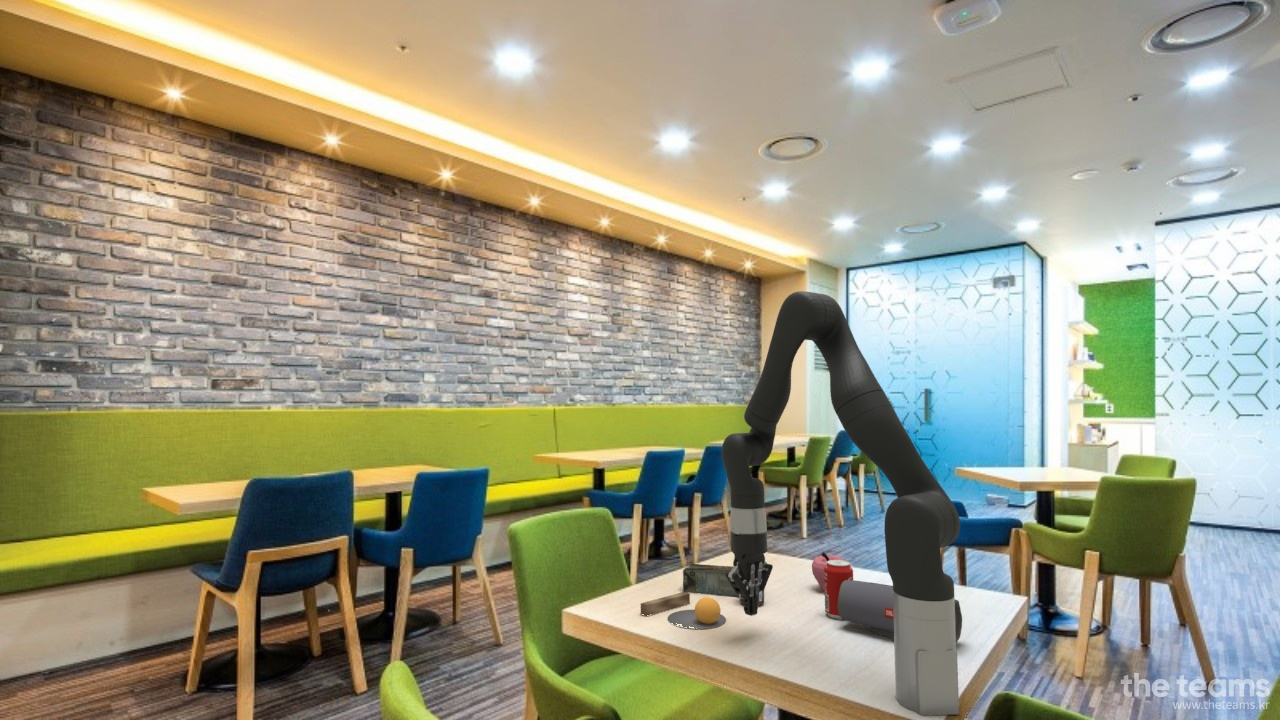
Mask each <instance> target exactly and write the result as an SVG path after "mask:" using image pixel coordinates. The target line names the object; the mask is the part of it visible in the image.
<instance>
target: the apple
mask: <svg viewBox="0 0 1280 720" xmlns="http://www.w3.org/2000/svg"><path fill="white" fill-rule="evenodd" d="M829 560H843V561H845V558H844V557H840V556H838V555H835V554H829V555H828V554H826V553H825V552H824V551H823V552H821V555H818V556H815V557H814V559H813V561H812V562H811V571H812V575H813V576H814V579H815V581H816V583H818V586H819V587H820V589H821V590H822V591H823V592H825V586H824V567H825V566H826V565H827V561H829Z"/></svg>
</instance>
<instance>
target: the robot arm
mask: <svg viewBox="0 0 1280 720" xmlns="http://www.w3.org/2000/svg"><path fill="white" fill-rule="evenodd" d="M804 341H812V342H813V344H815V346H816V347H817V349H818V350H819V352H820V354H821V356H822V357H823V359H824V361H825V363H826V365H827V368H828V369H827V370H828V371H829V388H830V389H829V391H830V400H831V404H832V408H833V410H834V412H835V414H836V416H837V418H838V420H839V422H840V424H841V425H842V426H841V427H843V430H844V431H845V434H847V436H848V438H849V439H850V440H851V442H852V443H853V444H854V445H855V446H856V448H858V450H860V452H862V454H863V455H865V456H866V457H867V458H868V459H869V460H870V461H871V462H872V463H873V464H874V465H875V466H876V468H878V469H879V470H880V471H881V472H882V473H883V474H884V476H885V477H886V479H887V480H888V482H889V483H890V485H891V486H892V489H893V491H894V492H895V494H896V496H897V497H896V498H895V499H893V500H892V501H891V502H890V504H889V505H888V506H887V509H886V512H885V516H884V541H885V543H884V544H885V557H886V567H887V572H888V574H889V576H890V579H891V582H892V586H893V613H894V638H893V640H894V641H893V643H894V674H895V698H896V700H897V702H898V703H899V704H901V705H902V706H903V707H906V708H908V709H910V710H913V711H915V712H916V713H917V714H919V715H923V716H925V715H927V716H928V715H930V716H931V715H932V716H933V715H934V716H935V715H939V716H940V715H960V700H959V697H960V696H959V695H960V694H959V674H958V673H959V671H958V670H959V669H958V667H959V666H958V663H959V662H958V653H957V642H956V633H955V600H956V599H955V584H954V580H953V578H952V576H950V575H949V574H947V573H945V572H944V570H943V564H942V553H941V552H942V551H941V548H944V547H948V546H949V545H951V544H952V543H954V542H955V541H956V540H957V538H959V534H960V532H961V531H960V530H961V520H960V515H959V513H958V510H957V509H956V507H955V504H954V503H953V502H952V500H951V498H950V497H949V495H948V494H947V493H946V491H945V490H944V489H943V488H944V487H942V486H941V484H940V483H939V482H938V480H937V478H936V477H935V475H933V473H932V472H931V470H930V469H929V468H928V466H927V464H926V463H925V461H924V460H923V459H922V457H921V455H920V453H919V451H918V449H917V447H916V446H915V444H914V442H913V441H912V439H911V437H910V436H909V434H908V432H907V430H906V428H905V427H904V425H903V423H902V422H901V420H900V418H899V416H898V414H897V412H896V410H895V408H894V406H893V405H892V403H891V402H890V400H889V398H888V396H887V395H886V392H885V391H884V389H883V387H882V386H881V384H880V383H879V381H878V379H877V378H876V377H875V374H874V373H873V370H872V369H871V367H870V365H869V363H868V361H867V360H866V358H865V357H864V354H862V352H861V351H862V350H861V349H860V348H859V345H858V344H857V342H856V339H855V336H854V334H853V332H852V329H851V328H850V325H849V322H848V320H847V317H846V316H845V314H844V312H843V310H842V308H841V305H840V304H839V303H838V302H837V300H836V299H834V298H833V297H831V296H830V295H827V294H826V293H825V294H824V293H818V292H813V291H804V290H803V291H802V290H799V291H794V292H792V293H790V294H789V295H788V296H787V297H786V298H785V299H784V301H783V302H782V304H781V306H780V309H779V311H778V314H777V318H776V320H775V325H774V328H773V332H772V335H771V339H770V343H769V347H768V350H767V354H766V359H765V362H764V364H763V368H762V371H761V374H760V377H759V379H758V382H757V384H756V387H755V389H754V391H753V393H752V395H751V397H750V400H749V402H748V404H747V407H746V408H745V411H744V415H743V418H744V421H745V423H746V424H747V425H748V426H749V427H750V430H749V432H735V433H731V434H729V435H728V436H726V437H725V438H724V440H723V442H722V446H721V460H722V463H723V466H724V471H725V473H726V474H725V475H726V478H727V480H728V484H729V489H730V514H729V528H730V529H729V530H730V532H729V534H730V537H729V538H730V550H731V552H732V554H733V555H734V559H733V563H732V565H733V569H732V570H731V572H726V578H727V579H728V581H729V582H730V584H731V586H732V587H733V589H734V591H735V592H736V594H740V595H743V599H744V605H743V612H744V613H745V615H747V616H751V617H752V616H755V615H757V614H758V611H759V606H758V595H759V592H760V591H764V592H765V588H766V586H767V583H768V582H769V578H770V575H771V574H772V570H773V568H774V567H773V564H770V563H767V562H766V557H765V554H766V553H767V552H768V533H767V532H768V529H767V528H768V527H767V526H768V525H767V523H768V522H767V514H766V508H765V504H766V502H765V484H764V483H763V481H762V480H761V479H759V478H756V477H753V475H752V473H751V469H750V467H754V466H755V467H756V466H761V465H762V464H764V463H765V462H767V460H768V459H769V458H770V456H771V454H772V452H773V447H774V442H775V437H776V433H777V427H778V426H777V425H778V423H779V422H780V419H781V417H782V416H783V414H784V411H785V409H786V407H787V404H788V403H789V399H790V397H791V390H792V369H793V363H794V360H795V357H796V355H797V353H798V350H800V348H801V346H802V345H803V343H804ZM761 580H762V581H761ZM746 586H747V588H746ZM954 599H955V600H954Z"/></svg>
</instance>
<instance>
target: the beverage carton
mask: <svg viewBox="0 0 1280 720" xmlns="http://www.w3.org/2000/svg"><path fill="white" fill-rule="evenodd" d="M733 567H734V566H728V565H715V564H714V565H713V564H701V563H700V564H699V563H690V564H689V565H687V566H686V567H685V568H684V569H683V570H682V592H686V593H688V592H691V593H692V594H698V593H700V595H709V594H710V595H713V596H721V595H724V596H723V597H734V596H735V598H739V594H736V592H735V591H734V589H733V587H732V586H731V584H730V582H729V581H728V579H727V578H726V572H731V570H732V569H733ZM691 593H690V594H691Z"/></svg>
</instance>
